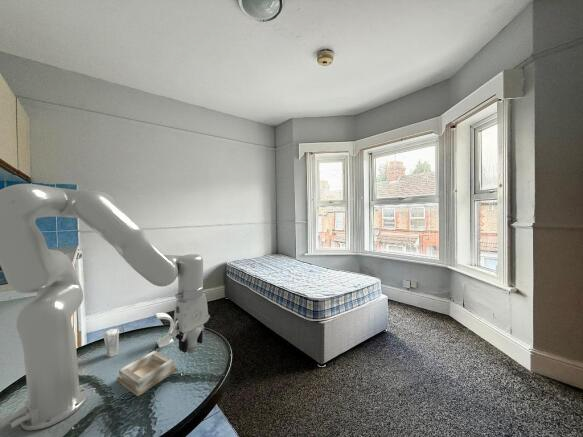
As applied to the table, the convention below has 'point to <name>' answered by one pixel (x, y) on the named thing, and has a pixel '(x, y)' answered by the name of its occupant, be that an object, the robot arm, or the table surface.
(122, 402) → the table surface
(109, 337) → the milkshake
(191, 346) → the lightbulb
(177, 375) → the table surface
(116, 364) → the table surface
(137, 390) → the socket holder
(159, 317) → the white curved piece
